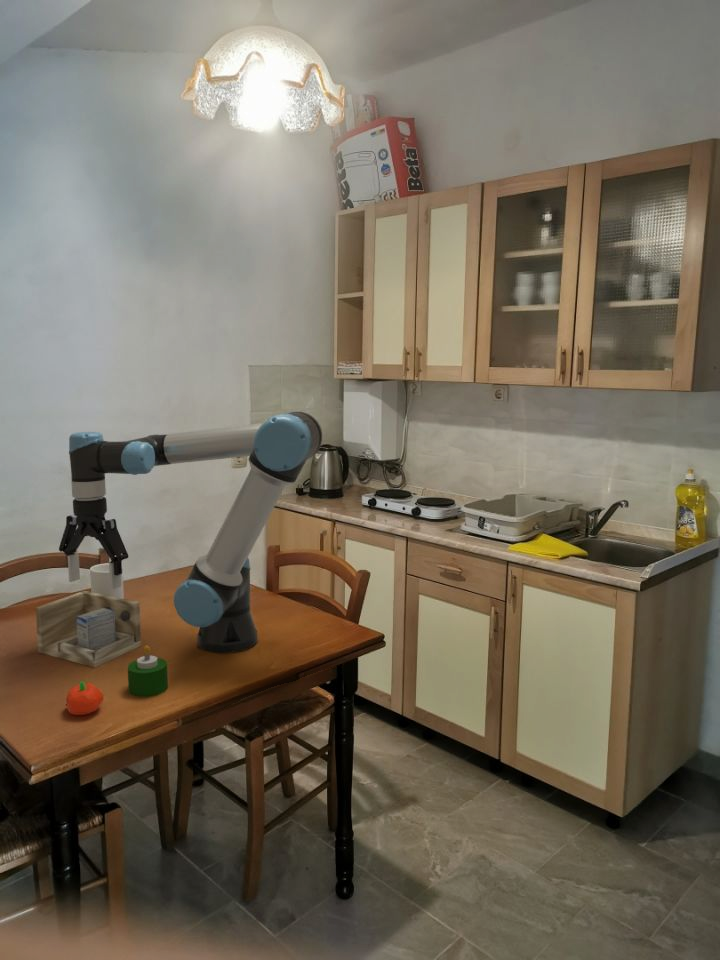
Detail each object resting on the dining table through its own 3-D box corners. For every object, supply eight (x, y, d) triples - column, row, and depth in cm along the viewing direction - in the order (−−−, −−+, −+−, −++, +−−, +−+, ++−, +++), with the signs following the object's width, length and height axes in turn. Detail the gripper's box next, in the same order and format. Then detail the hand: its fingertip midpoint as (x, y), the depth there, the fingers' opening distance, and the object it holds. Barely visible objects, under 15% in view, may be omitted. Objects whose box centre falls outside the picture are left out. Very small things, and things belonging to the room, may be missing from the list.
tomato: (74, 725, 147) (68, 696, 145) (63, 710, 153) (58, 682, 152) (110, 711, 151) (104, 683, 149) (98, 697, 157) (93, 669, 156)
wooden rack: (141, 646, 186) (139, 602, 184) (95, 667, 173) (93, 620, 171) (86, 632, 195) (83, 590, 193) (38, 652, 181) (35, 607, 180)
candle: (175, 688, 163) (173, 645, 161) (142, 700, 157) (140, 656, 155) (154, 677, 168) (152, 635, 167) (121, 689, 162) (119, 645, 161)
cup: (114, 630, 196) (112, 572, 194) (86, 628, 198) (83, 570, 195) (130, 620, 204) (128, 564, 202) (103, 617, 206) (100, 562, 203)
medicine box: (105, 640, 186) (103, 607, 184) (116, 644, 183) (114, 611, 182) (77, 650, 179) (75, 616, 178) (88, 654, 177) (86, 620, 175)
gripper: (140, 499, 173) (145, 586, 176) (64, 491, 184) (70, 573, 187) (117, 504, 166) (122, 595, 170) (39, 496, 177) (45, 581, 181)
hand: (95, 584), depth 179 cm, fingers open, 13 cm apart
